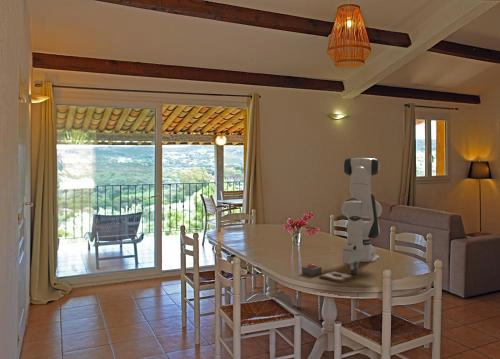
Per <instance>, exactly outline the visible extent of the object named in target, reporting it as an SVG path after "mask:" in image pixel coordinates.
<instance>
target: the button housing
mask: <svg viewBox="0 0 500 359" xmlns="http://www.w3.org/2000/svg"><path fill="white" fill-rule="evenodd" d="M301 274H302V275H306V276H310V277H317V276H320V275H322V266H319V265H315V268H308V265H305V266H304V265H303V266H301Z"/></svg>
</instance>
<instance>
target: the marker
mask: <svg viewBox="0 0 500 359" xmlns="http://www.w3.org/2000/svg"><path fill="white" fill-rule="evenodd" d="M353 266H354V269H353V270H351V269H350V271H351V272H350V275H354V277H355V276H358V268H357V261H355V262H354V264H353Z"/></svg>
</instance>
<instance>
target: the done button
mask: <svg viewBox="0 0 500 359" xmlns="http://www.w3.org/2000/svg"><path fill="white" fill-rule="evenodd" d="M315 266H316V264H315V263H308V268H315Z"/></svg>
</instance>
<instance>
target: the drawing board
mask: <svg viewBox="0 0 500 359" xmlns="http://www.w3.org/2000/svg"><path fill="white" fill-rule="evenodd" d="M318 276H319V279H323V280H327V281H331V282H336V283H339V284H342V283H345V282H347V281H350V280H352V279H355V276H354V275H351V274H349V273H343V272H340V271H337V270H336V271H335V270H332V271H328V272H327V273H323V274H319V275H318Z"/></svg>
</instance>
